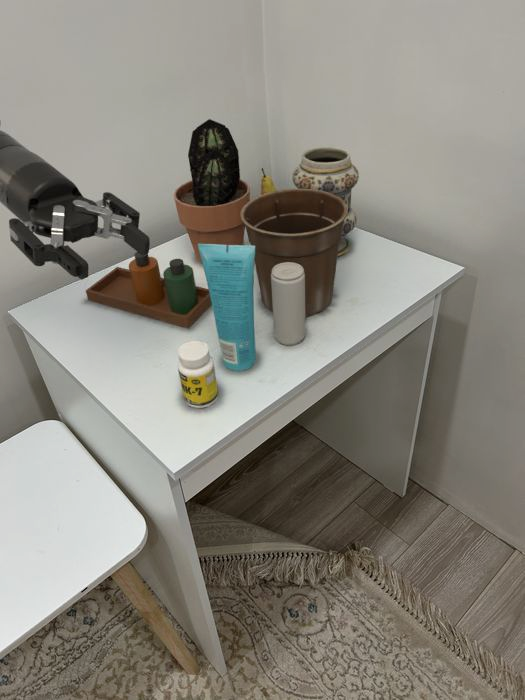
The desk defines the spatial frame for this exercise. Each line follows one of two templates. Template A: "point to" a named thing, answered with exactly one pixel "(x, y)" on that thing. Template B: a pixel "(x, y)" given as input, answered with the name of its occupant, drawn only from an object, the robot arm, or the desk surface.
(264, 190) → the fruit
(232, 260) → the tube
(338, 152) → the apothecary jar
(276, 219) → the plant pot
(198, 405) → the supplement bottle
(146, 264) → the amber bottle
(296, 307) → the beverage can
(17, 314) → the desk surface
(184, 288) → the green bottle
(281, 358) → the desk surface
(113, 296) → the serving tray
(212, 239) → the potted plant
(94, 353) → the desk surface
